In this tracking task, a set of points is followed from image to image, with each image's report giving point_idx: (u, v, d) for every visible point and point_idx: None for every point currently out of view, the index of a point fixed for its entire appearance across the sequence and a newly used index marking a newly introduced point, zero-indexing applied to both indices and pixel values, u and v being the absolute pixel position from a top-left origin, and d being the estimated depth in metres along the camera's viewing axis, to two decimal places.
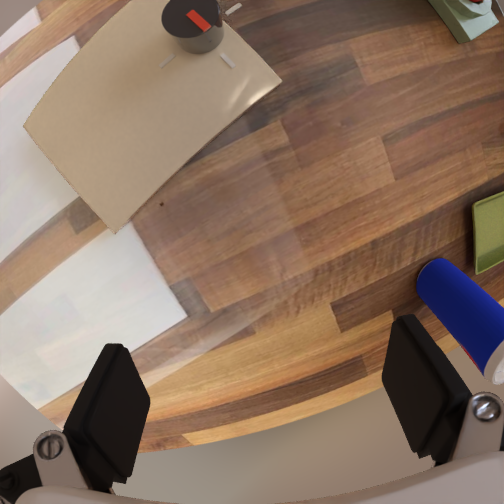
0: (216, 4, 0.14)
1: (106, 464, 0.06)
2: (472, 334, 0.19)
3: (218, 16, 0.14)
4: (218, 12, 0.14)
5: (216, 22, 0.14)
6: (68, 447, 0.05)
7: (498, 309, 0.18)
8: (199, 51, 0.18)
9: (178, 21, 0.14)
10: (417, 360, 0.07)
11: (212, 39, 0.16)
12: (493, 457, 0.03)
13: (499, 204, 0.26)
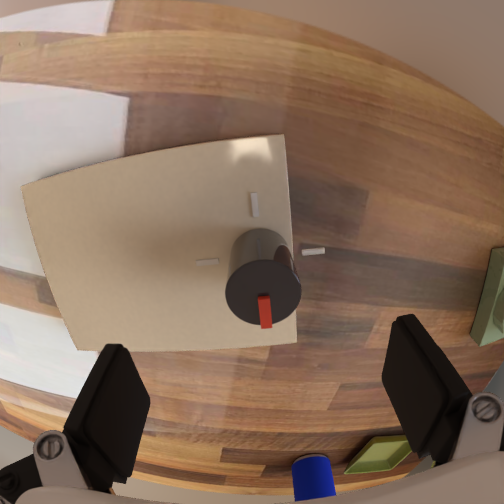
0: (297, 303, 0.14)
1: (106, 464, 0.06)
2: None
3: (287, 315, 0.15)
4: (291, 313, 0.15)
5: None
6: (68, 447, 0.05)
7: None
8: None
9: (244, 296, 0.14)
10: (417, 360, 0.07)
11: None
12: (493, 457, 0.03)
13: None
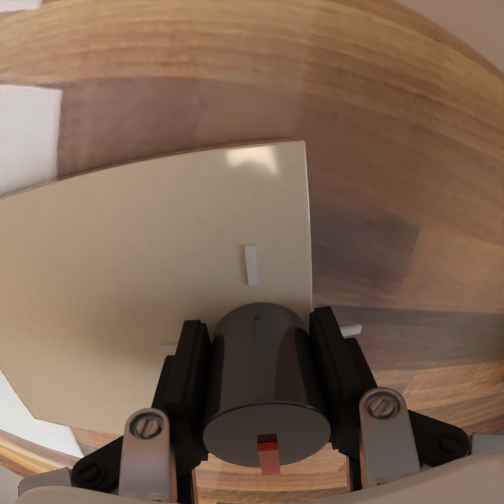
0: (322, 445, 0.07)
1: (197, 439, 0.07)
2: None
3: None
4: (311, 454, 0.08)
5: None
6: (167, 432, 0.06)
7: None
8: None
9: (234, 443, 0.07)
10: (320, 350, 0.09)
11: None
12: (493, 457, 0.03)
13: None
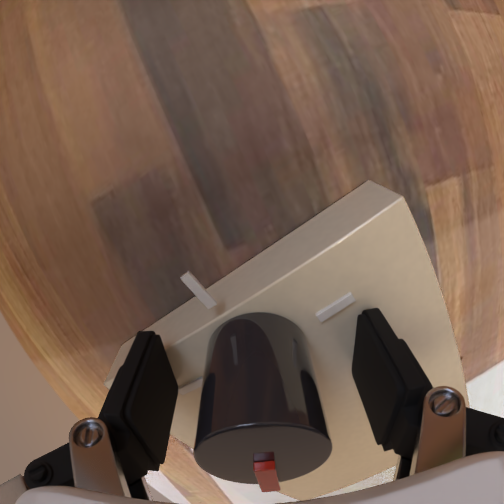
0: (323, 461, 0.07)
1: (142, 450, 0.07)
2: None
3: None
4: (312, 470, 0.07)
5: None
6: (107, 437, 0.06)
7: None
8: None
9: (229, 462, 0.07)
10: (377, 352, 0.08)
11: None
12: (493, 457, 0.03)
13: None
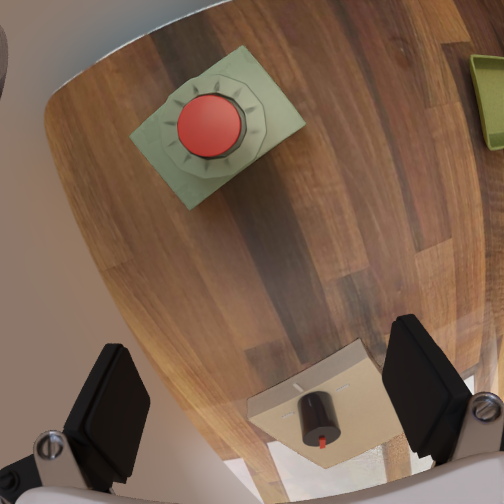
0: (338, 437, 0.24)
1: (106, 464, 0.06)
2: None
3: None
4: (335, 440, 0.24)
5: None
6: (68, 447, 0.05)
7: None
8: None
9: (312, 439, 0.23)
10: (417, 360, 0.07)
11: None
12: (493, 457, 0.03)
13: (482, 88, 0.18)
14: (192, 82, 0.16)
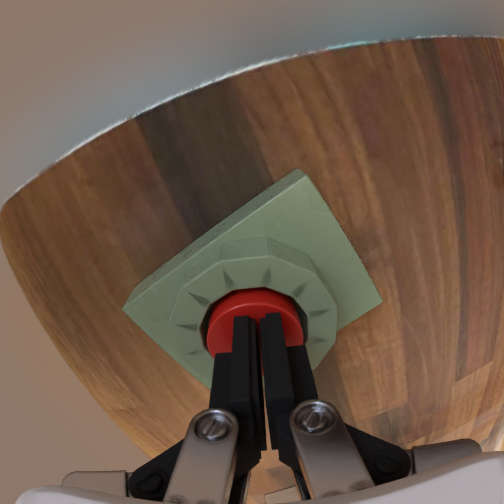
0: None
1: (256, 437, 0.07)
2: None
3: None
4: None
5: None
6: (234, 438, 0.06)
7: None
8: None
9: None
10: None
11: None
12: (493, 457, 0.03)
13: None
14: (223, 267, 0.10)
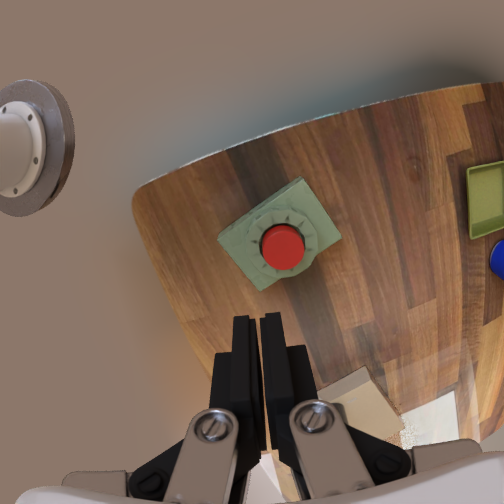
0: None
1: (256, 437, 0.07)
2: None
3: None
4: None
5: None
6: (234, 438, 0.06)
7: None
8: None
9: None
10: None
11: None
12: (493, 457, 0.03)
13: (474, 188, 0.28)
14: (270, 214, 0.26)
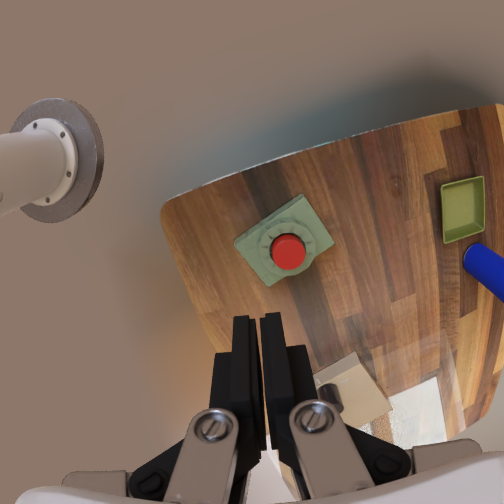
0: (342, 411, 0.41)
1: (256, 437, 0.07)
2: None
3: (339, 413, 0.42)
4: None
5: None
6: (234, 438, 0.06)
7: None
8: None
9: None
10: None
11: None
12: (493, 457, 0.03)
13: (447, 201, 0.36)
14: (278, 226, 0.33)
